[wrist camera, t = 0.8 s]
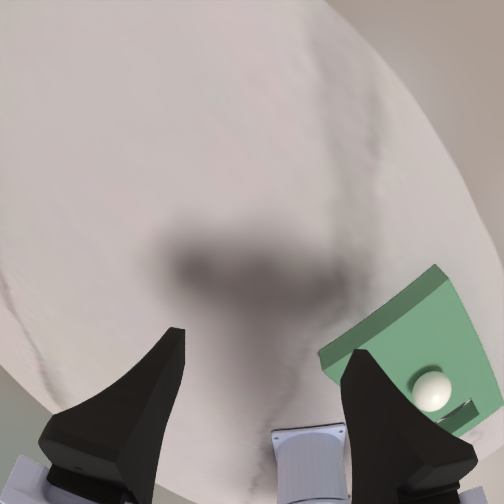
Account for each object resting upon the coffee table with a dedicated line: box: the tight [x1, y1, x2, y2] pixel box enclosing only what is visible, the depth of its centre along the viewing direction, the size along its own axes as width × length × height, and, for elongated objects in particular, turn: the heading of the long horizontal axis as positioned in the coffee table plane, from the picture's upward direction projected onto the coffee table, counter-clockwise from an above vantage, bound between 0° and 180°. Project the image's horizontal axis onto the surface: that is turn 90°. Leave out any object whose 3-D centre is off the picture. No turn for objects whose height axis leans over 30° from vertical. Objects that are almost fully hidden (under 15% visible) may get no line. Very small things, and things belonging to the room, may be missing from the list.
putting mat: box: [319, 264, 504, 438], centre depth 26 cm, size 24×12×2 cm, turn 43°
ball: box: [412, 371, 452, 412], centre depth 22 cm, size 4×4×4 cm
